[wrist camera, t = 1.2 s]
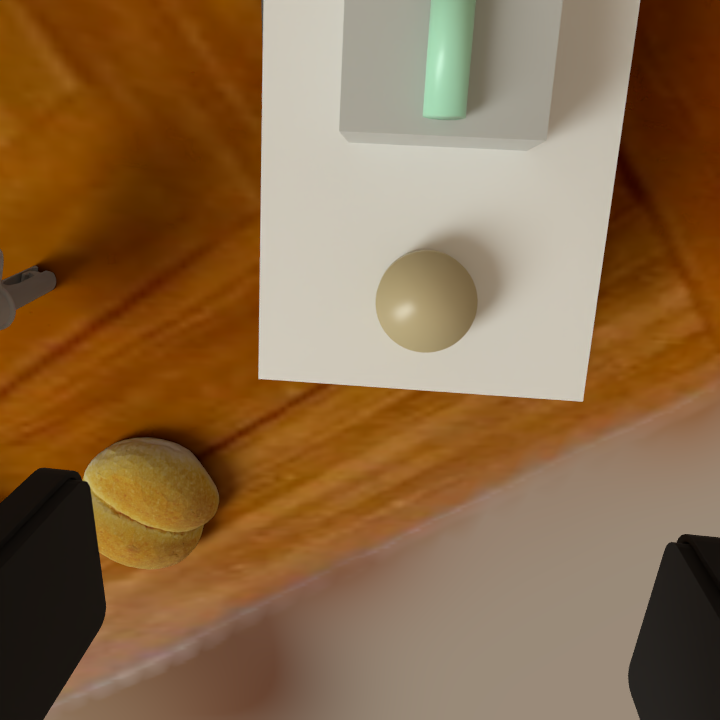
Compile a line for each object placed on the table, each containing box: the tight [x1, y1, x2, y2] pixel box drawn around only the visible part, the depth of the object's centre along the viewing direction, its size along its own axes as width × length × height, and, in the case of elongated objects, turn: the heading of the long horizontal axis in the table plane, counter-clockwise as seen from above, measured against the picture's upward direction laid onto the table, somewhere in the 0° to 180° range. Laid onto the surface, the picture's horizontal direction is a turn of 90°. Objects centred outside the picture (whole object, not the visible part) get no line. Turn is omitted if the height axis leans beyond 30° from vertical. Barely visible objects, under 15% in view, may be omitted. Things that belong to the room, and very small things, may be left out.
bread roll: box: [83, 437, 219, 569], centre depth 38 cm, size 8×9×4 cm
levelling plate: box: [259, 0, 640, 402], centre depth 22 cm, size 20×14×6 cm
